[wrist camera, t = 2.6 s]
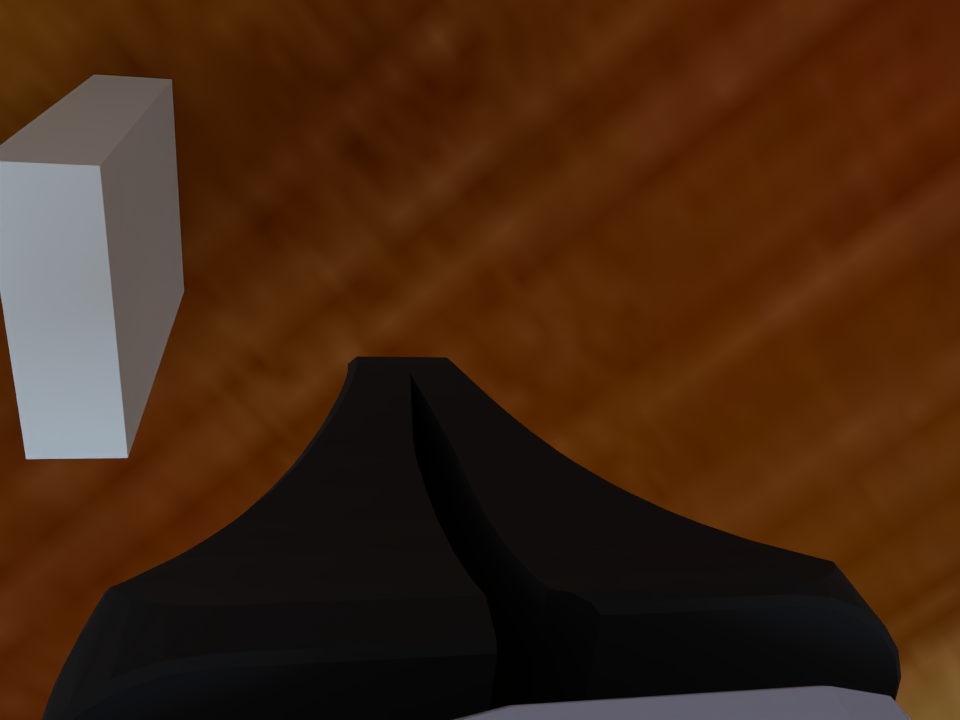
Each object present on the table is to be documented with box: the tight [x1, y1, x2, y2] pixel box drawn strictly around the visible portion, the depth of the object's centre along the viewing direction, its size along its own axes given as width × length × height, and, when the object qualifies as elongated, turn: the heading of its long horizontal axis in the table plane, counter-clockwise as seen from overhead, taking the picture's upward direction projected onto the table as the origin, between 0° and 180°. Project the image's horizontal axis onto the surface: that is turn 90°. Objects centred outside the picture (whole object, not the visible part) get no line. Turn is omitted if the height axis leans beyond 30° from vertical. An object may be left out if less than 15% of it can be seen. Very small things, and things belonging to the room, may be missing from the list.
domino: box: [0, 74, 184, 459], centre depth 17 cm, size 2×5×8 cm, turn 174°
